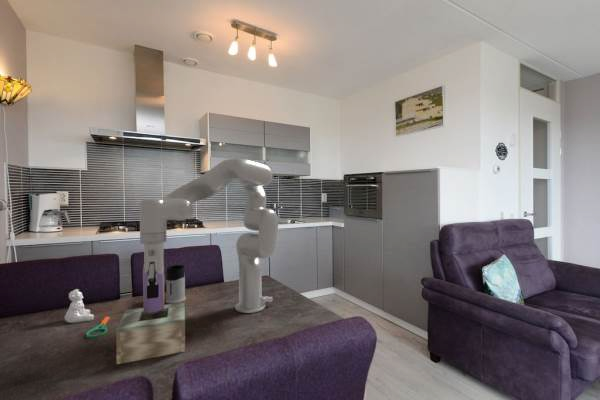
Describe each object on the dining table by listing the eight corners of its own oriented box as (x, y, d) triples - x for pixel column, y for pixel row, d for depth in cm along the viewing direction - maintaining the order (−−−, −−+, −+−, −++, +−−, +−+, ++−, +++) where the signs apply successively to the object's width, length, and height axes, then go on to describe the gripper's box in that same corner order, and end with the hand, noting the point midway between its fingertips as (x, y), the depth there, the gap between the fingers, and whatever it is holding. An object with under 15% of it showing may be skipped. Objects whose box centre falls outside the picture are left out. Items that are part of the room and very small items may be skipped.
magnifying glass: (104, 337, 98) (104, 332, 98) (83, 340, 96) (83, 335, 96) (116, 319, 113) (115, 315, 113) (97, 322, 111) (97, 317, 111)
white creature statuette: (95, 320, 112) (94, 289, 112) (66, 327, 105) (66, 294, 105) (89, 313, 118) (88, 284, 118) (62, 320, 112) (61, 289, 112)
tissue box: (184, 330, 103) (184, 302, 103) (185, 351, 89) (184, 319, 89) (126, 340, 96) (126, 309, 96) (116, 364, 82) (116, 329, 82)
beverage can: (155, 315, 89) (155, 266, 89) (139, 314, 90) (138, 266, 90) (168, 308, 95) (167, 262, 94) (152, 307, 96) (151, 261, 96)
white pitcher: (190, 298, 135) (189, 266, 135) (161, 308, 123) (160, 273, 123) (178, 295, 139) (178, 264, 139) (149, 304, 127) (149, 270, 127)
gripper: (164, 240, 85) (165, 302, 86) (167, 234, 101) (168, 285, 101) (135, 242, 83) (136, 305, 83) (143, 235, 98) (143, 288, 99)
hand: (153, 294), depth 92 cm, fingers closed on beverage can, 5 cm apart
